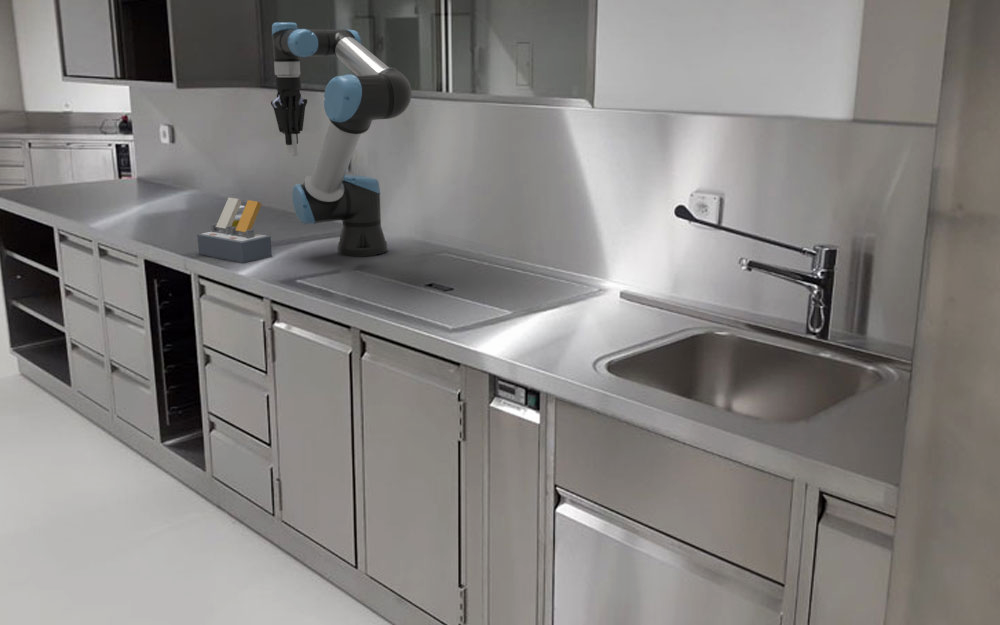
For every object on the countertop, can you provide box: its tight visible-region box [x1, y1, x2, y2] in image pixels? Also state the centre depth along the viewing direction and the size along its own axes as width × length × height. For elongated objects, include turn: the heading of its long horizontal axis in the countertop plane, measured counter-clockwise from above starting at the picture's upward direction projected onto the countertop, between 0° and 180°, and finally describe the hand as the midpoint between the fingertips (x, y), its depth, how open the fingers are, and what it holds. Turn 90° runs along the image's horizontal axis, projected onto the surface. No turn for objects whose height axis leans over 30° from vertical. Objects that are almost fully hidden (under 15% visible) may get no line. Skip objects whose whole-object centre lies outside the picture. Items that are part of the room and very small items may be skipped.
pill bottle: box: [232, 204, 246, 227], centre depth 295 cm, size 6×6×12 cm
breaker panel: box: [197, 222, 273, 264], centre depth 279 cm, size 20×11×9 cm, turn 55°
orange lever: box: [234, 199, 263, 235], centre depth 277 cm, size 6×2×11 cm
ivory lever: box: [215, 197, 243, 232], centre depth 282 cm, size 6×2×11 cm
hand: (292, 155), depth 284 cm, fingers closed
